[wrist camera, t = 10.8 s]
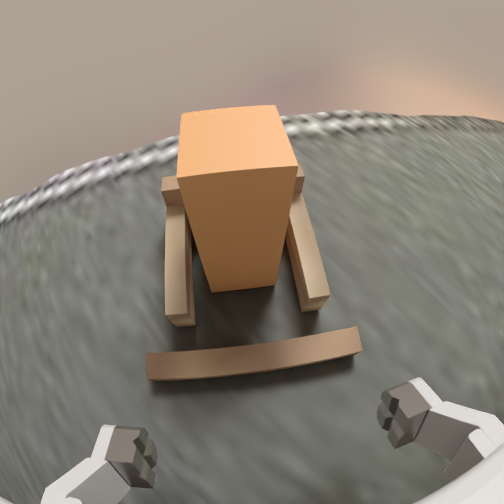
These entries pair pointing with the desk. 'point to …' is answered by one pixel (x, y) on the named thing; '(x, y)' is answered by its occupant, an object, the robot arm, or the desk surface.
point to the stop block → (237, 192)
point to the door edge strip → (253, 357)
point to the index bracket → (180, 255)
